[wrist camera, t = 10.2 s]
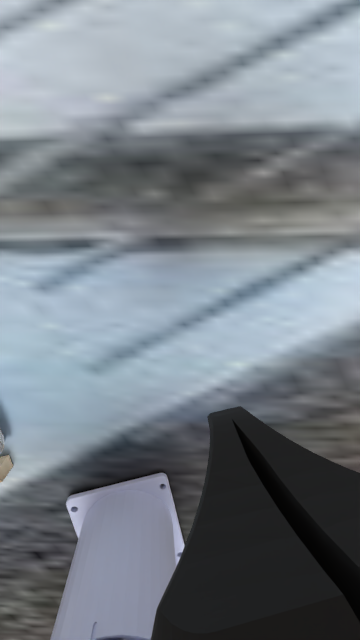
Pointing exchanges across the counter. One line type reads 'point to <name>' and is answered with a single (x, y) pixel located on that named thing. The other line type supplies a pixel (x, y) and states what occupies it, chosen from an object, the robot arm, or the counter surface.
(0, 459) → the oak frame
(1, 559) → the counter surface
